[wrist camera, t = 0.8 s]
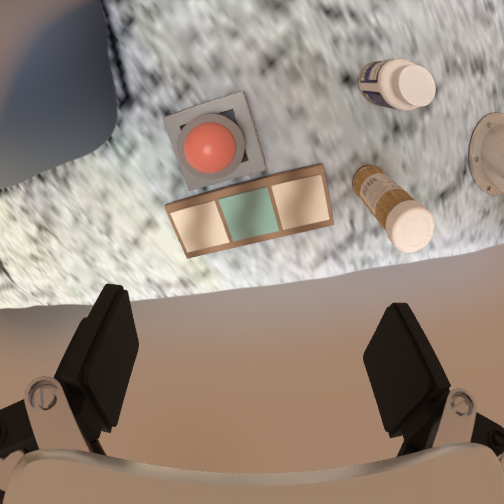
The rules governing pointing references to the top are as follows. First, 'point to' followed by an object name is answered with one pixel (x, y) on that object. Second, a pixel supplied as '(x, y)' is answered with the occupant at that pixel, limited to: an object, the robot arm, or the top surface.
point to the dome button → (211, 146)
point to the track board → (252, 211)
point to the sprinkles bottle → (394, 209)
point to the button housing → (245, 123)
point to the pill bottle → (397, 84)
